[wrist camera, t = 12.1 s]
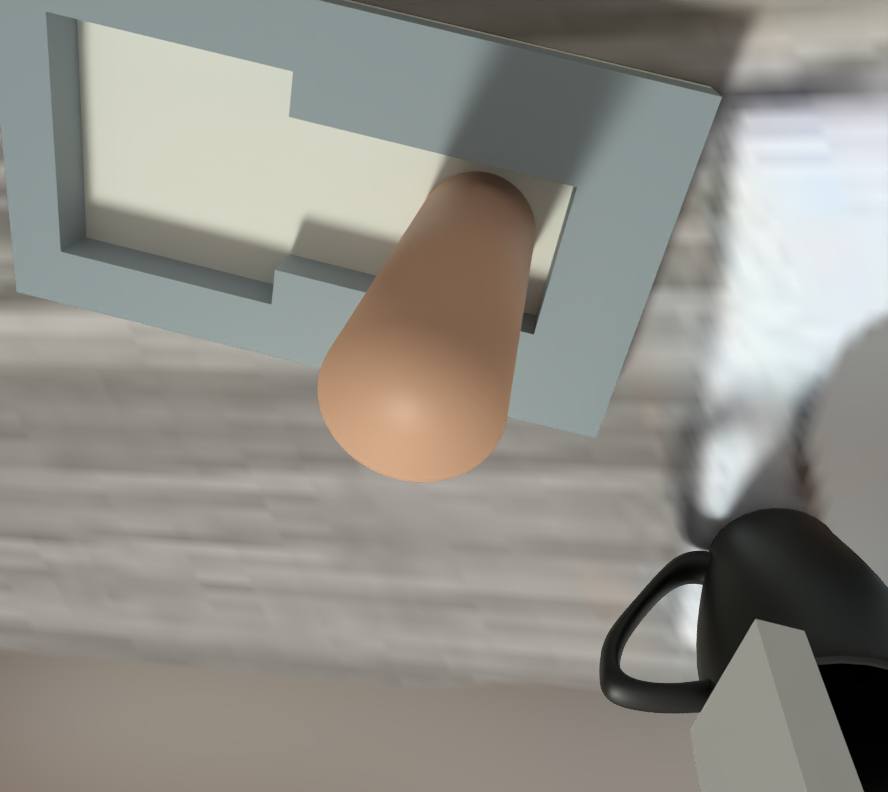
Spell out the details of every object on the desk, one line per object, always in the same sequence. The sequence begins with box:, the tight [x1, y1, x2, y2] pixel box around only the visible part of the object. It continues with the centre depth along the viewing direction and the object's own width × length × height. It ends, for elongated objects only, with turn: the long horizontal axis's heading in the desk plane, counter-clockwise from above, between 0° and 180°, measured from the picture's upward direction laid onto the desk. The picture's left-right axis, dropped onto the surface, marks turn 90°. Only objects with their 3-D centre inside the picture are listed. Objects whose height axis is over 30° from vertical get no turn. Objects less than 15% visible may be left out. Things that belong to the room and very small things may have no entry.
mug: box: [600, 509, 888, 792], centre depth 31 cm, size 8×12×10 cm
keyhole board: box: [0, 0, 722, 438], centre depth 28 cm, size 24×13×2 cm, turn 78°
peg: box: [318, 171, 535, 482], centre depth 23 cm, size 4×4×13 cm
